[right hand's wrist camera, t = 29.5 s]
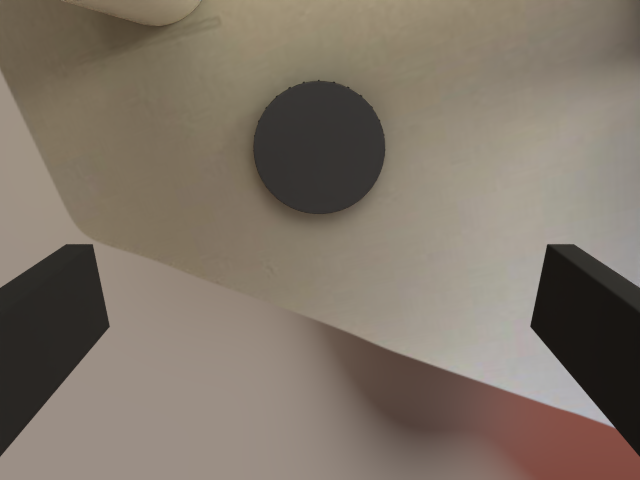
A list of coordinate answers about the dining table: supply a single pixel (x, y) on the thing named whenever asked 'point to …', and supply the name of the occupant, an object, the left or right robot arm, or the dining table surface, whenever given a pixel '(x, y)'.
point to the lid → (319, 147)
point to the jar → (142, 9)
